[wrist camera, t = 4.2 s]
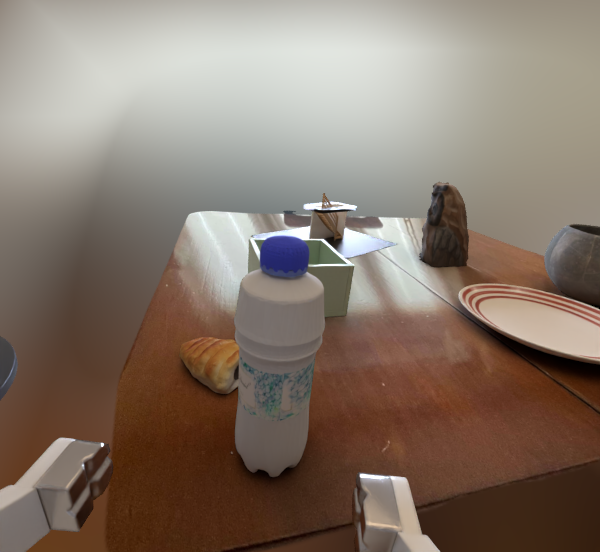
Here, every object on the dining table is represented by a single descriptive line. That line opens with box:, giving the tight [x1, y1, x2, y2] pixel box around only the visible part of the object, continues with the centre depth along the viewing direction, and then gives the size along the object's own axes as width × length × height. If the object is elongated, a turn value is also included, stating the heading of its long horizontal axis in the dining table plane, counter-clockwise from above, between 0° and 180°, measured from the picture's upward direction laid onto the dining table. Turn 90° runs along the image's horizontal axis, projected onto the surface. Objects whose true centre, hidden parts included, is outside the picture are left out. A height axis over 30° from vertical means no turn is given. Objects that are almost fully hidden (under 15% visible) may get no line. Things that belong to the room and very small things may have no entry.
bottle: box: [234, 235, 325, 477], centre depth 25 cm, size 7×7×20 cm
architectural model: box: [252, 193, 396, 259], centre depth 94 cm, size 35×28×14 cm
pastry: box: [179, 337, 239, 394], centre depth 38 cm, size 9×7×4 cm
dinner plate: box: [459, 284, 600, 364], centre depth 55 cm, size 27×27×3 cm
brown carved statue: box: [419, 182, 469, 267], centre depth 85 cm, size 13×13×20 cm
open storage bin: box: [248, 239, 354, 317], centre depth 57 cm, size 15×15×9 cm
